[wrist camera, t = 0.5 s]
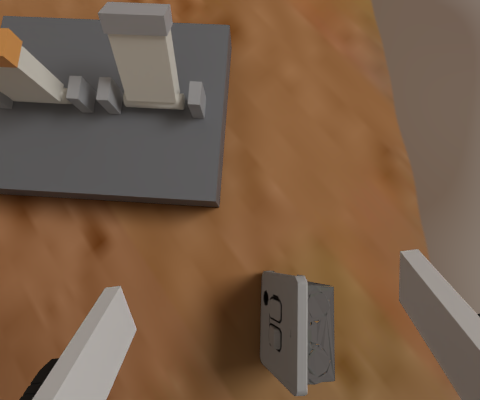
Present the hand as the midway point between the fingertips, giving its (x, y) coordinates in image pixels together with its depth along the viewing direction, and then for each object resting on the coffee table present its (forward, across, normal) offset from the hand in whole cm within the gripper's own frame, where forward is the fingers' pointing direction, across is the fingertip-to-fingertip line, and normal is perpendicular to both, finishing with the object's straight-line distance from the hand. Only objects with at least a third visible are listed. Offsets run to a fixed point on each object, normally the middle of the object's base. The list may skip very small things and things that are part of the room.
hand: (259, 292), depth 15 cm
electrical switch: (+15, -1, +15) cm, 21 cm away
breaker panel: (+27, +16, -7) cm, 32 cm away
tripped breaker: (+22, +21, -11) cm, 33 cm away
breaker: (+22, +9, -8) cm, 25 cm away
